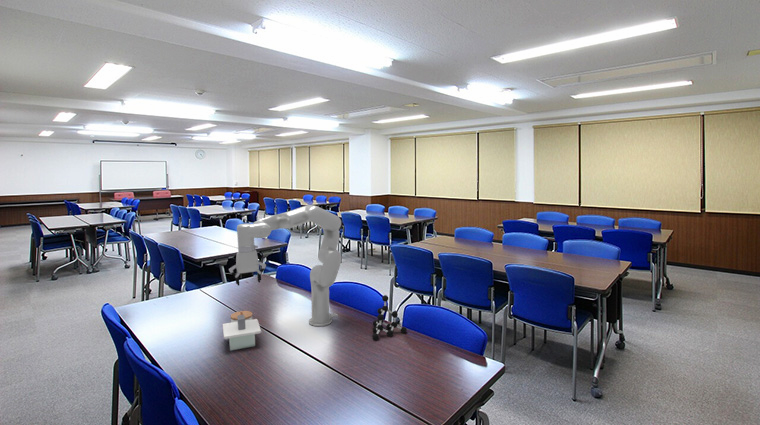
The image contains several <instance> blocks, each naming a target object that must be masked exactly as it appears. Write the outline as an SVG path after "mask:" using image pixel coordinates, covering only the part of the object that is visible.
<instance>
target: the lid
mask: <svg viewBox="0 0 760 425" xmlns="http://www.w3.org/2000/svg"><path fill="white" fill-rule="evenodd" d="M237 319H238V322H232V323H231V322H226V323H222V332H223V339H224V340H226V339H227V340H228V339H229V338H233V337H240V336H246V335H252V334H255V335H258V334H262V330H261V326H260V323H259V320H258V319H257V318H254V319H253V318H252V320H246V321H245V317H244V315H237Z"/></svg>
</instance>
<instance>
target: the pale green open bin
mask: <svg viewBox="0 0 760 425" xmlns="http://www.w3.org/2000/svg"><path fill="white" fill-rule="evenodd" d="M228 344H229V351H235V350H236V351H237V350H240V349H241V350H242V349H247V348H251V347H256V334H252V335H246V336H240V337H233V338H228Z"/></svg>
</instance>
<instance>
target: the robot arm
mask: <svg viewBox="0 0 760 425" xmlns="http://www.w3.org/2000/svg"><path fill="white" fill-rule="evenodd" d="M308 222H311V223H314V224H315V225H318V226H319V227H321V229H322V230H323V231H322V232H323V238H322V241H321V244H320V247H319V251H318V253H317V259H318V261H319V262H320V263H322V264H317V265H315V266H312V268H311V269H310V272H309V280H310V288H311V290H310V291H311V318H309V320H308V324H309V325H310V326H312V327H325V326H329V325H331V324H332V323H333V319H334V318H338V317H339V315H338V313H335V312H331V313H330V287H331V286H333V285H334V283H335V282H336V279H337V276H338V274H339V271H340V267H341V264H342V255H341V252H340V251H339V250H337V249H338V246H339V245H338V244H339V242H340V241H339V240H340V230H339V229H340V228H341V227H342V220H341V218H340V217H339V216H338V215H336V214H334V213H331V212H330V211H328V210H326V209H324V208H322V207H319V206H317V205H314V204H313V205H312V204H307V205H303V206H301V207H297V208H295V209H291V210H289V211H286V212H281V213H278V214H273V215H270V216H266V217H264V218H260V219H258V220H256V221H253V223H249V222H248V223H241V224H238V225H236V226H237V227H236V233H237V234H236V235H237V250H238V251H237V252H236V256H235V257H236V258H235V262H236V263H235V264H234V265H232V266H231V267H230V268H228V271H229V273H230V274H231V275H232V276H233V277H234V278H235V284H236V285H237V287H238V286H240V277H239V276H240V275H241V274H248V273H254V272H257V274H256V275H257V282H258V283H261V281H262V274H263V272H264V271H265V269H266V267H267V264H266V263H263V262H261V261H259V256H258V252H257V250H256V249H258V248H259V247H258V245H255V239H266V238H267V237H269V236H270V235H271V233H272V231H274V230H281V229H284V230H285V229H286V230H287V229H293V228H295V227H299V226H301V225H304V224H306V223H308ZM260 266H261V268H260ZM235 269H236V273H235V272H234V270H235ZM331 322H332V323H331ZM330 323H331V324H330Z"/></svg>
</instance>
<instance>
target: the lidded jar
mask: <svg viewBox="0 0 760 425" xmlns="http://www.w3.org/2000/svg"><path fill="white" fill-rule="evenodd" d="M237 315H244V317H245V321H246V320H252V319H253V312H252V311H249V310H241V311H235V312H233V313H232V314H230V323H232V322H238V319H237Z"/></svg>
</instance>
